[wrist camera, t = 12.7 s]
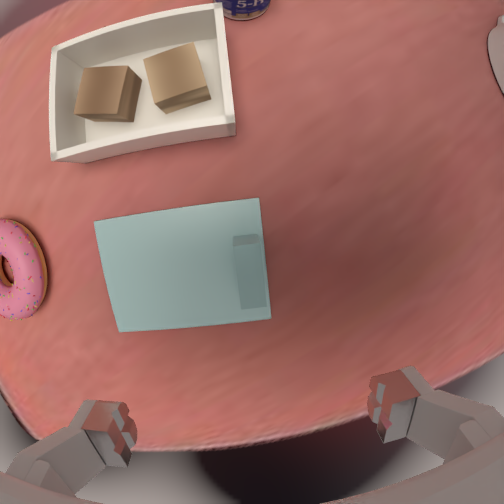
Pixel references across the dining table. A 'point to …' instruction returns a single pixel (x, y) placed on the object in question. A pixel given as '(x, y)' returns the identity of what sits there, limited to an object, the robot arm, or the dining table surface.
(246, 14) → the pill bottle
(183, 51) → the block
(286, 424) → the dining table surface
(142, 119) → the tub
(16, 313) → the doughnut
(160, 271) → the lid
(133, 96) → the block
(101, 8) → the dining table surface
